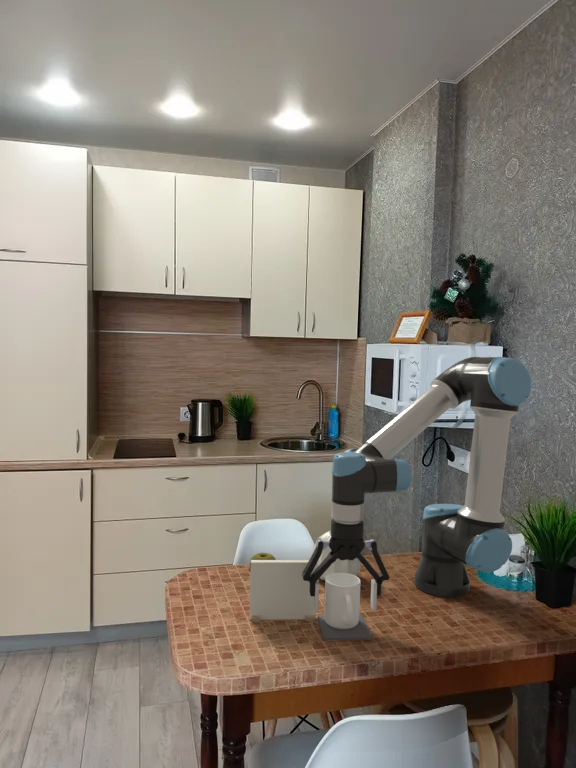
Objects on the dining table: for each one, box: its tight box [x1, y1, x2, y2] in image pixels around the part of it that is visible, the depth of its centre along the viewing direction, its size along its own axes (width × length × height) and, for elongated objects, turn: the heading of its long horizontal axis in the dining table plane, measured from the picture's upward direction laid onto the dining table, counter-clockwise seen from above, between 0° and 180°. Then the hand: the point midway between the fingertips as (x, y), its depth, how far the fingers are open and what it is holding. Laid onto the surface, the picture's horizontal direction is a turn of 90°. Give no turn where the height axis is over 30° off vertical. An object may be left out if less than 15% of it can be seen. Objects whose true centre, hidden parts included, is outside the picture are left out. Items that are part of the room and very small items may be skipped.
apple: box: [249, 552, 277, 572], centre depth 161 cm, size 8×8×7 cm
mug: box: [323, 573, 362, 629], centre depth 133 cm, size 12×8×10 cm
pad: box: [317, 614, 373, 641], centre depth 133 cm, size 11×11×1 cm
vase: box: [313, 530, 362, 581], centre depth 163 cm, size 14×14×13 cm
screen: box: [249, 559, 318, 623], centre depth 137 cm, size 16×4×14 cm, turn 94°
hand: (344, 609), depth 133 cm, fingers open, 13 cm apart
